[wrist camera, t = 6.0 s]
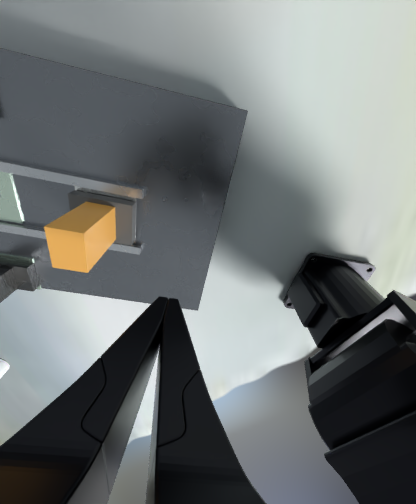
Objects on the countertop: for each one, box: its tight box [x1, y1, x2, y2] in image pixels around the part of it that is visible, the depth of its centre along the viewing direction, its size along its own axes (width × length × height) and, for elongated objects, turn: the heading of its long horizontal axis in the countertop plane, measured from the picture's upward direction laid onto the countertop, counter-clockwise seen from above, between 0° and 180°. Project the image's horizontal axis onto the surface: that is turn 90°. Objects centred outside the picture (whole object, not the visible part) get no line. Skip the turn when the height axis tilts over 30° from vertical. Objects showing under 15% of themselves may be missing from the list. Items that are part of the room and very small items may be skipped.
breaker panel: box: [0, 48, 248, 310], centre depth 14 cm, size 20×16×5 cm
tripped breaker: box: [44, 190, 136, 273], centre depth 13 cm, size 4×3×5 cm
